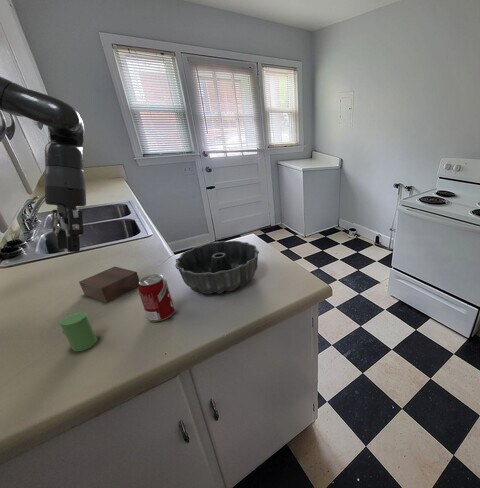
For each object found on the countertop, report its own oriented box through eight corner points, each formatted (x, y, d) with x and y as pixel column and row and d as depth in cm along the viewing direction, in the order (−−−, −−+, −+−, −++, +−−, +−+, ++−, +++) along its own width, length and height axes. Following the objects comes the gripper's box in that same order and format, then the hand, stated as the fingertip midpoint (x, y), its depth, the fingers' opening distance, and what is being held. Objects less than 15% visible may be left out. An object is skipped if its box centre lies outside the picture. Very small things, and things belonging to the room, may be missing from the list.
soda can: (158, 326, 73) (146, 288, 68) (142, 319, 76) (130, 282, 71) (180, 311, 79) (170, 276, 74) (164, 306, 81) (154, 271, 76)
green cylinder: (80, 353, 64) (67, 327, 61) (68, 348, 66) (54, 322, 62) (101, 340, 68) (90, 314, 65) (89, 335, 70) (78, 310, 67)
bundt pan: (208, 260, 109) (204, 237, 105) (271, 265, 105) (269, 241, 101) (163, 298, 85) (155, 270, 81) (242, 306, 81) (238, 277, 77)
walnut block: (106, 302, 83) (101, 288, 81) (84, 295, 87) (78, 281, 85) (140, 284, 92) (136, 271, 90) (119, 278, 96) (114, 266, 94)
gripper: (37, 186, 69) (40, 249, 70) (53, 183, 61) (56, 253, 62) (76, 189, 75) (77, 247, 76) (95, 187, 67) (96, 251, 69)
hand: (68, 250), depth 69 cm, fingers open, 8 cm apart
